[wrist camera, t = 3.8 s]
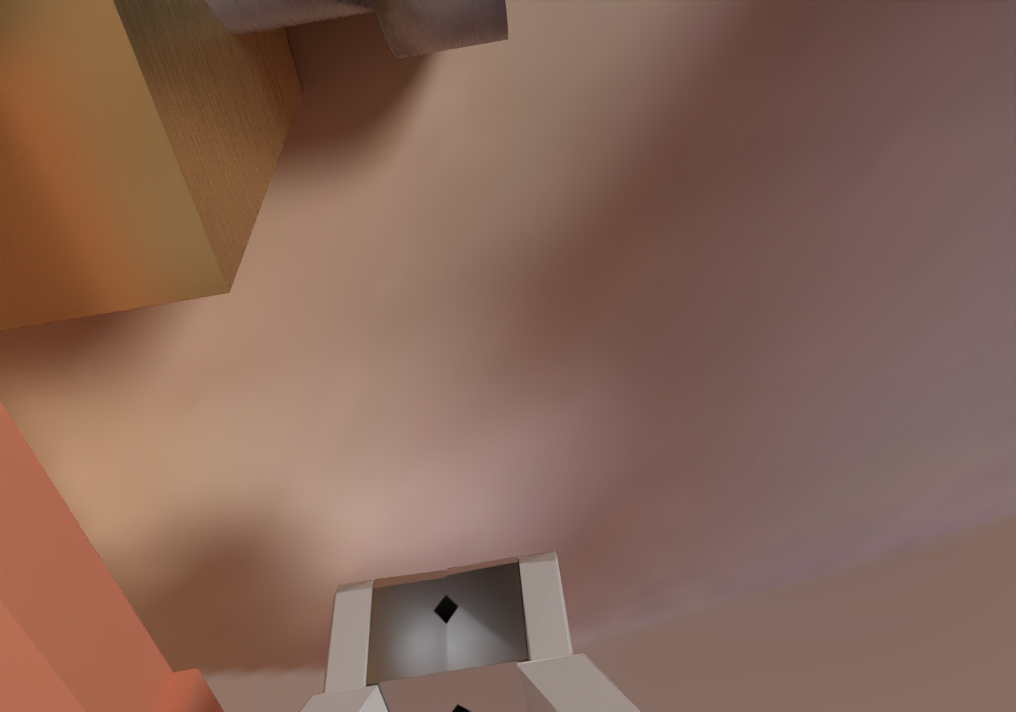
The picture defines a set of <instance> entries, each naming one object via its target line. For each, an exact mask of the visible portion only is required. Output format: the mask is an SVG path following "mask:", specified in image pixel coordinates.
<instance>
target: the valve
mask: <svg viewBox="0 0 1016 712" xmlns="http://www.w3.org/2000/svg"><path fill="white" fill-rule="evenodd" d="M369 12H375V13H376V16H377V19H378V22H379V25H380V28H381V30H382V33H383V35H384V38H385V40H386V43H387V45H388V47H389V49H390V51H391V53H392V54H393V56H394V57H395V58H397V59H398V58H404V57H410V56H416V55H421V54H427V53H433V52H439V51H444V50H450V49H456V48H462V47H467V46H473V45H479V44H485V43H490V42H496V41H502V40H507V39H508V24H507V13H506V3H505V0H0V331H4V330H10V329H16V328H22V327H28V326H34V325H40V324H46V323H52V322H58V321H64V320H70V319H76V318H82V317H88V316H94V315H100V314H106V313H111V312H117V311H123V310H129V309H135V308H141V307H147V306H153V305H159V304H165V303H171V302H177V301H183V300H189V299H195V298H201V297H207V296H213V295H219V294H225V293H230V290H231V287H232V285H233V282H234V279H235V276H236V274H237V271H238V268H239V265H240V263H241V260H242V257H243V255H244V252H245V249H246V246H247V244H248V241H249V238H250V235H251V233H252V230H253V227H254V224H255V222H256V219H257V216H258V213H259V211H260V208H261V205H262V202H263V200H264V197H265V194H266V191H267V189H268V186H269V183H270V181H271V178H272V175H273V172H274V170H275V167H276V164H277V161H278V159H279V156H280V153H281V150H282V148H283V145H284V142H285V139H286V137H287V134H288V131H289V128H290V126H291V123H292V120H293V117H294V115H295V112H296V109H297V106H298V104H299V101H300V98H301V96H302V93H303V90H302V87H301V83H300V80H299V76H298V73H297V69H296V66H295V63H294V59H293V56H292V52H291V49H290V46H289V42H288V39H287V35H286V32H285V28H284V27H290V26H295V25H301V24H307V23H312V22H318V21H324V20H329V19H335V18H341V17H346V16H352V15H358V14H364V13H369Z"/></svg>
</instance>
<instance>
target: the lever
mask: <svg viewBox="0 0 1016 712" xmlns="http://www.w3.org/2000/svg"><path fill="white" fill-rule="evenodd" d="M0 712H224V711H223V709H222V708H221V706H220V704H219V703H218V701H217V699H216V698H215V696H214V695H213V693H212V691H211V690H210V688H209V686H208V685H207V683H206V681H205V680H204V678H203V676H202V675H201V673H200V671H199V670H198V668H196V669H189V670H183V671H177V672H173V671H172V669H171V668H170V666H169V665H168V663H167V662H166V660H165V658H164V657H163V655H162V654H161V652H160V651H159V649H158V647H157V646H156V644H155V643H154V641H153V640H152V638H151V636H150V635H149V633H148V632H147V630H146V629H145V627H144V625H143V624H142V622H141V621H140V619H139V618H138V616H137V614H136V613H135V611H134V610H133V608H132V607H131V605H130V604H129V602H128V600H127V599H126V597H125V596H124V594H123V593H122V591H121V589H120V588H119V586H118V585H117V583H116V582H115V580H114V578H113V577H112V575H111V574H110V572H109V571H108V569H107V567H106V566H105V564H104V563H103V561H102V560H101V558H100V556H99V555H98V553H97V552H96V550H95V549H94V547H93V545H92V544H91V542H90V541H89V539H88V538H87V536H86V534H85V533H84V531H83V530H82V528H81V527H80V525H79V523H78V522H77V520H76V519H75V517H74V516H73V514H72V512H71V511H70V509H69V508H68V506H67V505H66V503H65V501H64V500H63V498H62V497H61V495H60V494H59V492H58V490H57V489H56V487H55V486H54V484H53V483H52V481H51V479H50V478H49V476H48V475H47V473H46V472H45V470H44V468H43V467H42V465H41V464H40V462H39V461H38V459H37V457H36V456H35V454H34V453H33V451H32V450H31V448H30V447H29V445H28V443H27V442H26V440H25V439H24V437H23V436H22V434H21V432H20V431H19V429H18V428H17V426H16V425H15V423H14V421H13V420H12V418H11V417H10V415H9V414H8V412H7V410H6V409H5V407H4V406H3V404H2V403H1V401H0Z"/></svg>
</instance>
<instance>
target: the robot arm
mask: <svg viewBox="0 0 1016 712" xmlns="http://www.w3.org/2000/svg"><path fill="white" fill-rule="evenodd" d="M300 712H640V711H639V709H638V708H637V707H636V706H635V705H634V704H633V703H632V702H631V701H630V700H629V699H628V698H627V697H626V696H625V695H624V694H623V693H622V692H621V691H620V690H619V689H618V688H617V687H616V686H615V685H614V684H613V683H612V682H611V681H610V680H609V679H608V678H607V677H606V676H605V674H603V672H602V671H600V670H599V668H598V667H596V665H595V664H594V663H593V662H592V661H591V660H590V659H589V658H588V657H587V656H586V655H585V654H584V653H579V654H574V652H573V646H572V640H571V634H570V628H569V622H568V616H567V611H566V605H565V599H564V593H563V587H562V581H561V575H560V570H559V564H558V558H557V554H556V551H553V552H547V553H541V554H535V555H528V556H522V557H513V558H507V559H501V560H495V561H489V562H483V563H478V564H472V565H466V566H460V567H454V568H448V569H447V570H443V571H435V572H427V573H420V574H412V575H405V576H397V577H389V578H382V579H376V580H369V581H362V582H355V583H348V584H341V585H339V586H338V588H337V591H336V593H335V595H334V603H333V611H332V620H331V629H330V637H329V646H328V655H327V664H326V672H325V681H324V691H323V693H319V694H314V695H312V696H311V697H310V699H309V700H308V701H307V703H306V704H305V705H304V707H303V708H302V709H301V711H300Z"/></svg>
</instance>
